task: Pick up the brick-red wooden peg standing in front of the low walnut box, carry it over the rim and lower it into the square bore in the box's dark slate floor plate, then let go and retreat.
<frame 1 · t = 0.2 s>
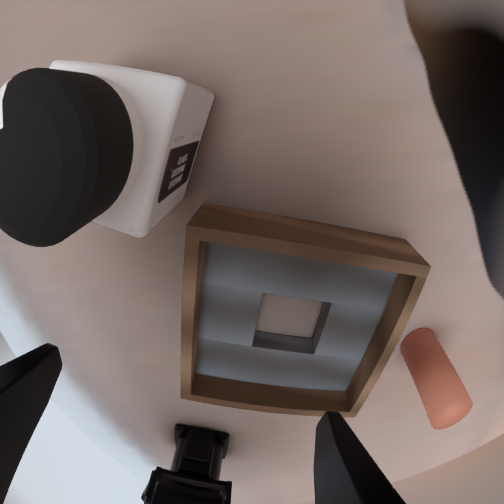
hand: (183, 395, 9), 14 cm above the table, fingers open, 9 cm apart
peg: (417, 343, 25), on the table
container: (148, 132, 20), on the table
box: (289, 310, 24), on the table
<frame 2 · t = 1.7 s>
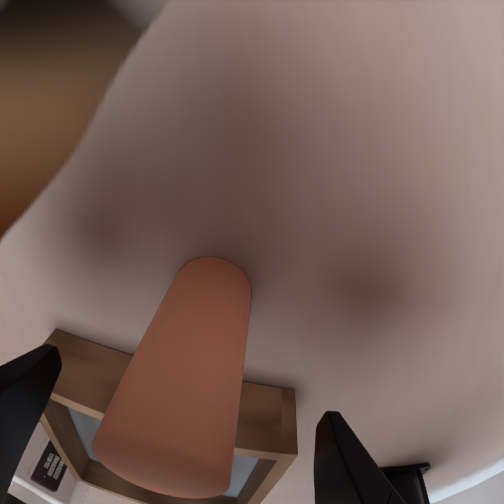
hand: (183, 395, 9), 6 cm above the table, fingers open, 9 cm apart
peg: (212, 292, 14), on the table
container: (64, 445, 24), on the table
box: (164, 430, 19), on the table
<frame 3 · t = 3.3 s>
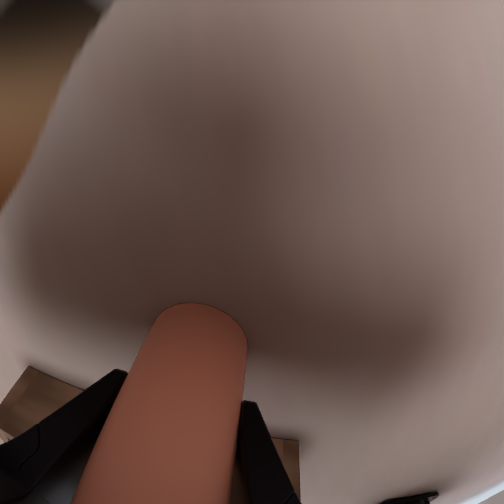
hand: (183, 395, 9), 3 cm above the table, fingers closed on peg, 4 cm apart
peg: (198, 343, 11), on the table, touching gripper
box: (154, 469, 16), on the table
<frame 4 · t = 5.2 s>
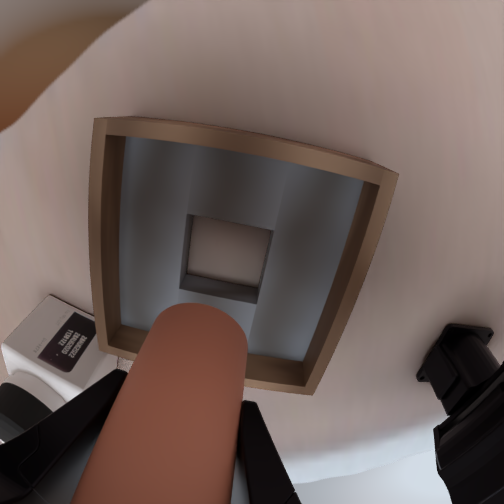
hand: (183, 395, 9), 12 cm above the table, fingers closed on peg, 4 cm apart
peg: (198, 343, 11), point 10 cm above the table, touching gripper
container: (83, 339, 25), on the table
box: (227, 248, 20), on the table
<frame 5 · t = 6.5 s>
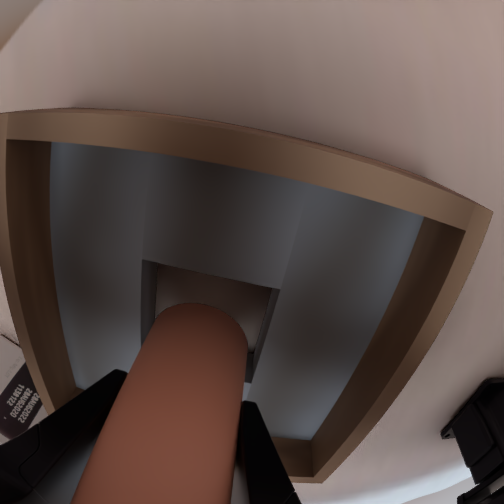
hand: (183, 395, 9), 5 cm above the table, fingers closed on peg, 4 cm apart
peg: (198, 343, 11), point 3 cm above the table, touching gripper
container: (44, 385, 18), on the table
box: (209, 302, 14), on the table
when the fingers open (3 cm above the table, at t = 7.5 s): peg stays where it is, resting in box.
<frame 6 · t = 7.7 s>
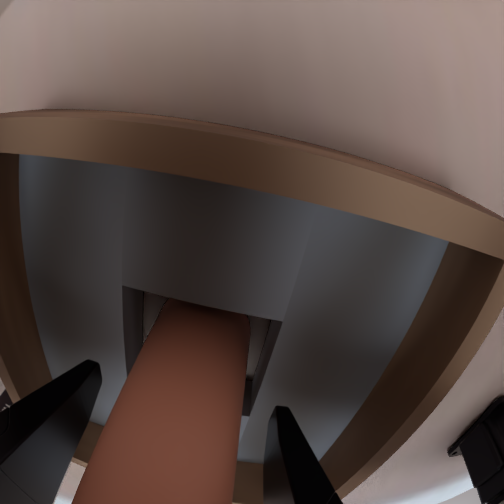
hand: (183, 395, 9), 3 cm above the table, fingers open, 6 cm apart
peg: (204, 327, 12), resting in box
box: (202, 328, 12), on the table
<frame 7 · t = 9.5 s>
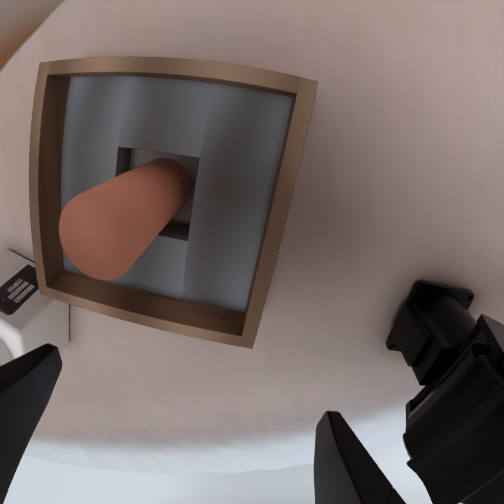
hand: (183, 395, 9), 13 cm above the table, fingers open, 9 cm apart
peg: (163, 186, 19), resting in box
container: (39, 296, 24), on the table
box: (162, 186, 19), on the table
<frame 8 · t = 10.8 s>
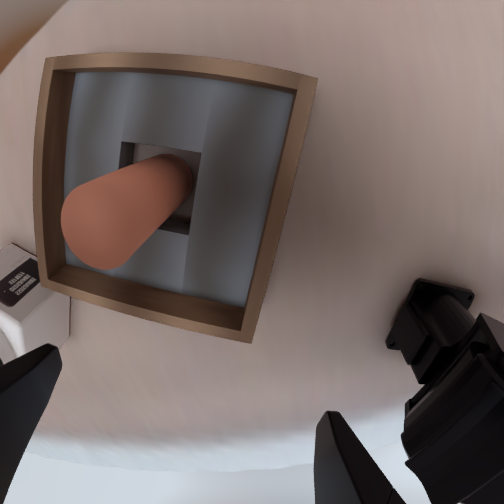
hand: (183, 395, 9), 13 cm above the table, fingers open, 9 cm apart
peg: (165, 181, 19), resting in box
container: (40, 290, 24), on the table
box: (164, 181, 19), on the table
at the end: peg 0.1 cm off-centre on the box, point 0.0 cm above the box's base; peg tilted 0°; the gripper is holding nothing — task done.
